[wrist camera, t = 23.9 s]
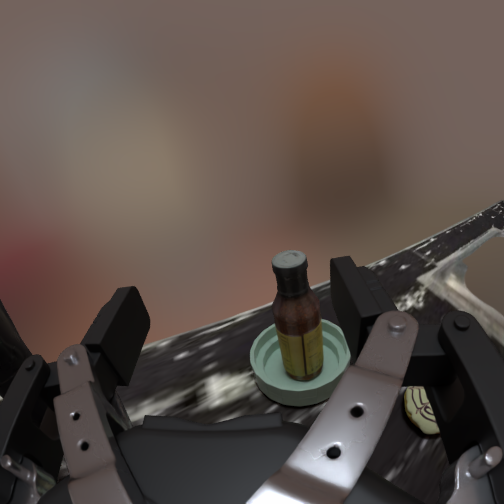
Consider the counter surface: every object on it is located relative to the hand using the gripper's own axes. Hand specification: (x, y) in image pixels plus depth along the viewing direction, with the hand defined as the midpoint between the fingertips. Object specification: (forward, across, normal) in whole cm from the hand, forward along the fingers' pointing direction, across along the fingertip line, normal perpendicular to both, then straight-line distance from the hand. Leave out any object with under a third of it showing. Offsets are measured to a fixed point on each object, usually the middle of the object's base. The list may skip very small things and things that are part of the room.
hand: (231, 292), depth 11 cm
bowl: (+19, -4, +30) cm, 36 cm away
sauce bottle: (+19, -4, +29) cm, 35 cm away
